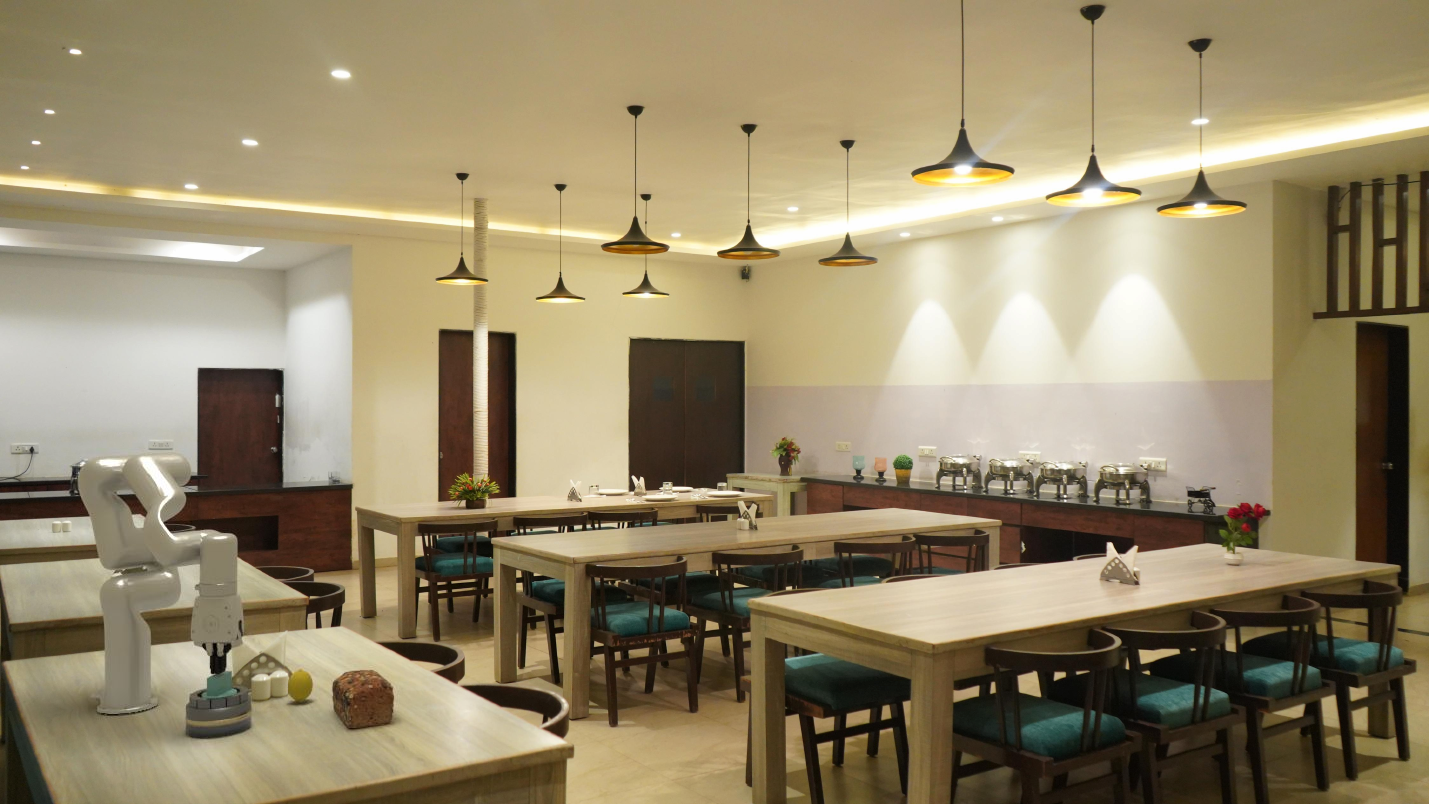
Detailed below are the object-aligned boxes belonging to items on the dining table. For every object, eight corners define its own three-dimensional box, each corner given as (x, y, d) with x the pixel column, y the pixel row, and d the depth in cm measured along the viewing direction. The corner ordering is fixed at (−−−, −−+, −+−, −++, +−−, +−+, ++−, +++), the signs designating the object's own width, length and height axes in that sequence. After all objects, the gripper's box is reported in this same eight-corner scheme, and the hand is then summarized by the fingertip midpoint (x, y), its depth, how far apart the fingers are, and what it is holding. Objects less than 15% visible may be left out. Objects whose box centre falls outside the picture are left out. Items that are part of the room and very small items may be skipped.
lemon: (304, 706, 244) (303, 672, 244) (283, 705, 245) (283, 671, 245) (317, 699, 249) (317, 666, 249) (297, 698, 250) (296, 665, 250)
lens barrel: (172, 737, 221) (172, 700, 221) (207, 719, 234) (207, 684, 234) (230, 739, 219) (230, 701, 219) (263, 720, 233) (263, 685, 233)
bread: (395, 724, 230) (394, 679, 230) (345, 731, 225) (345, 686, 225) (377, 703, 246) (377, 662, 246) (330, 710, 241) (330, 667, 241)
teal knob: (195, 705, 223) (195, 678, 223) (212, 696, 230) (212, 670, 230) (226, 706, 223) (226, 678, 223) (243, 697, 230) (242, 670, 230)
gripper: (176, 592, 224) (175, 676, 224) (241, 593, 222) (241, 678, 222) (196, 586, 231) (196, 667, 231) (259, 587, 230) (259, 669, 230)
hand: (218, 672), depth 227 cm, fingers closed
